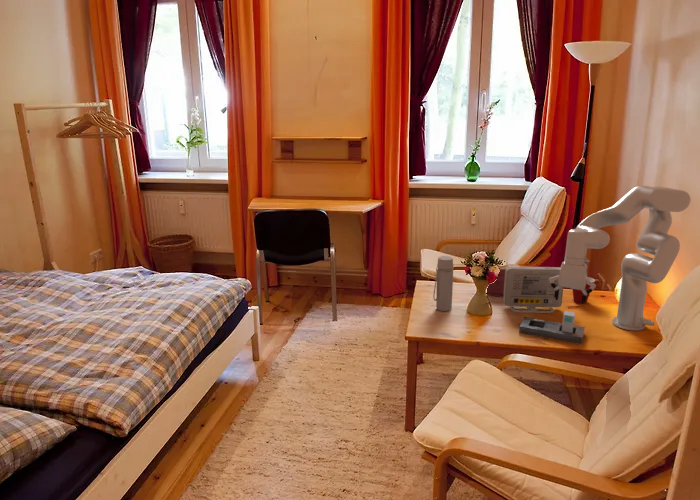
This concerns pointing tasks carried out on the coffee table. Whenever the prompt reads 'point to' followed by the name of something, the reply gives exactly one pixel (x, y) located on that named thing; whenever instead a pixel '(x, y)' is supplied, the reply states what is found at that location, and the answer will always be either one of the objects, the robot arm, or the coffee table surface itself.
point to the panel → (550, 330)
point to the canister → (498, 282)
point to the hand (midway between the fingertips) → (569, 301)
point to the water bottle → (444, 283)
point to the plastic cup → (578, 293)
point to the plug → (568, 322)
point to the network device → (531, 288)
